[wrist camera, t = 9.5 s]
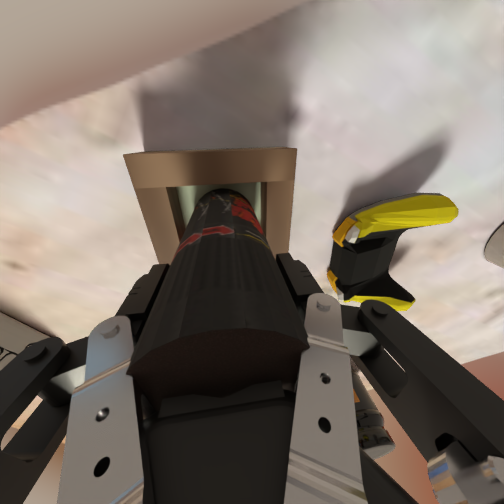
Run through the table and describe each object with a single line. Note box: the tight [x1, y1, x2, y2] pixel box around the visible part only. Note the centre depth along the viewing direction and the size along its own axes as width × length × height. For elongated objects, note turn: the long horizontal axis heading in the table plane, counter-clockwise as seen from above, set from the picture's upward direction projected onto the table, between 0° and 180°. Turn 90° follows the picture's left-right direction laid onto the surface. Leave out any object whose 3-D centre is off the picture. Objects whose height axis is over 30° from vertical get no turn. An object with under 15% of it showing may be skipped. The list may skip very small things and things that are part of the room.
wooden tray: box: [123, 147, 297, 265], centre depth 18 cm, size 12×12×4 cm
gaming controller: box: [327, 193, 458, 311], centre depth 22 cm, size 15×6×10 cm
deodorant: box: [126, 188, 310, 411], centre depth 12 cm, size 6×6×15 cm
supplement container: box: [351, 369, 395, 460], centre depth 37 cm, size 10×10×12 cm
